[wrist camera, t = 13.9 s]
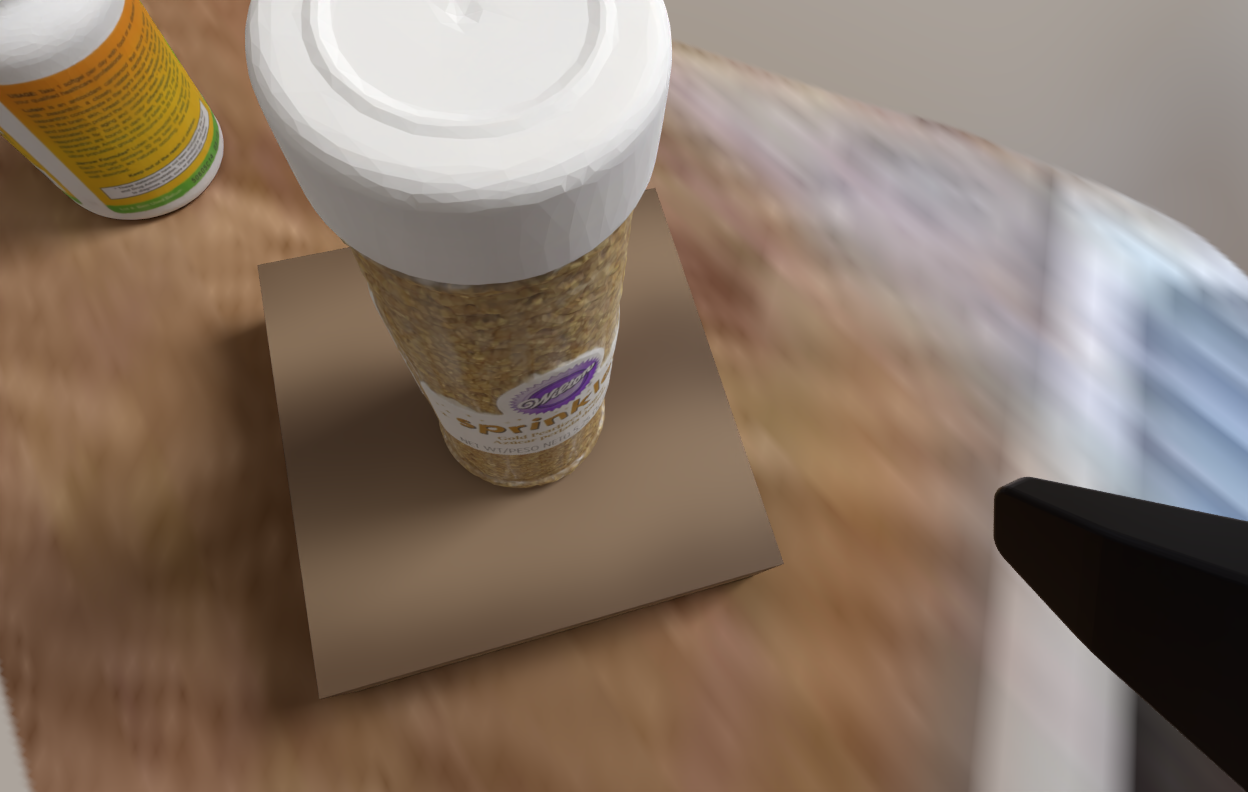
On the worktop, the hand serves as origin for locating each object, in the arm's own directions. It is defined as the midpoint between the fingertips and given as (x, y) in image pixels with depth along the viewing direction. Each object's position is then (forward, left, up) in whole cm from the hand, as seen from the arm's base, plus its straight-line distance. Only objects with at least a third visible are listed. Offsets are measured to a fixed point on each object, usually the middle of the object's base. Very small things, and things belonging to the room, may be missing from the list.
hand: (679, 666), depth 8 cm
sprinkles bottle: (+7, +1, -11) cm, 13 cm away
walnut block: (+7, +1, -14) cm, 15 cm away
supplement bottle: (+20, +11, -14) cm, 27 cm away
